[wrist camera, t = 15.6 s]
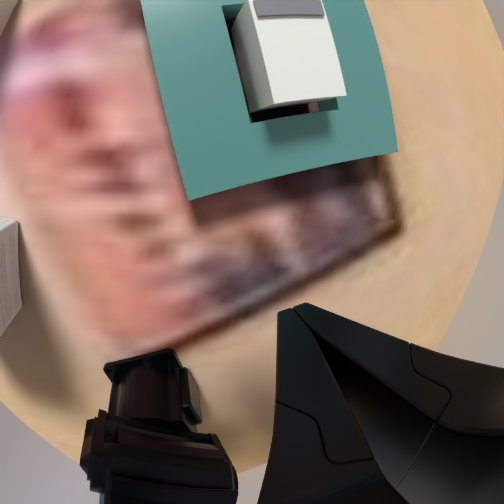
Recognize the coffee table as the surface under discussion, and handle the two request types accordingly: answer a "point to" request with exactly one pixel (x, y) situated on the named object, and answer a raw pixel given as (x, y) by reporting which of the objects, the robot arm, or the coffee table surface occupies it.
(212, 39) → the socket board
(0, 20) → the architectural model
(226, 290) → the coffee table surface
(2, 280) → the supplement box
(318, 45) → the plug
